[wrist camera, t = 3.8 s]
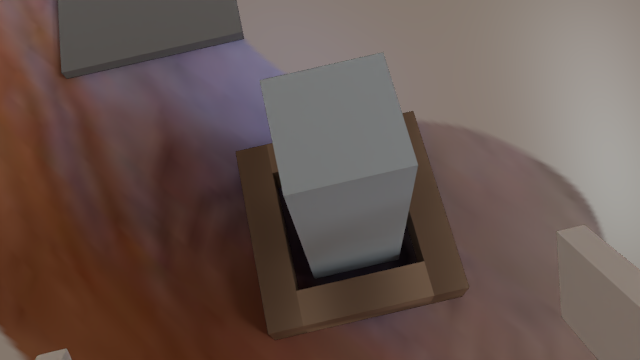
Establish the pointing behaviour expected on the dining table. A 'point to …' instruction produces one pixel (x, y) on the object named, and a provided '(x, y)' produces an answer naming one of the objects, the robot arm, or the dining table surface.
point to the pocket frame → (359, 292)
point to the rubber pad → (139, 30)
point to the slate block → (342, 161)
